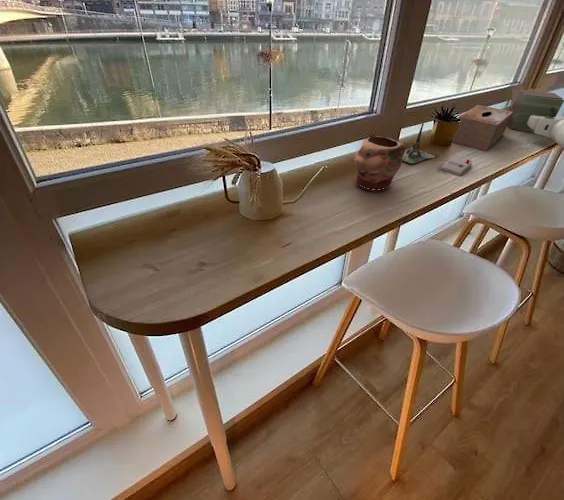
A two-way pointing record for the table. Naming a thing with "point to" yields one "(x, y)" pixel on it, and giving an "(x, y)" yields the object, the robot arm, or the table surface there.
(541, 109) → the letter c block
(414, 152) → the eiffel tower figurine
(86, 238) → the table surface
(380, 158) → the decorative planter
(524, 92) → the green door cabinet
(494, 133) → the tissue box cover
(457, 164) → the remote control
